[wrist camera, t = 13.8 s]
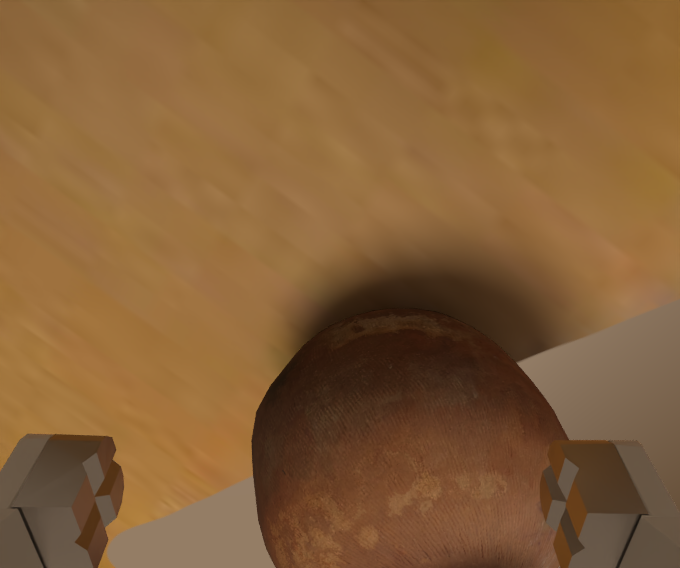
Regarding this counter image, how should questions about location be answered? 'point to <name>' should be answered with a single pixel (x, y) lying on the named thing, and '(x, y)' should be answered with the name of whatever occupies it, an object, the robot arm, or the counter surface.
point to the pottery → (403, 450)
